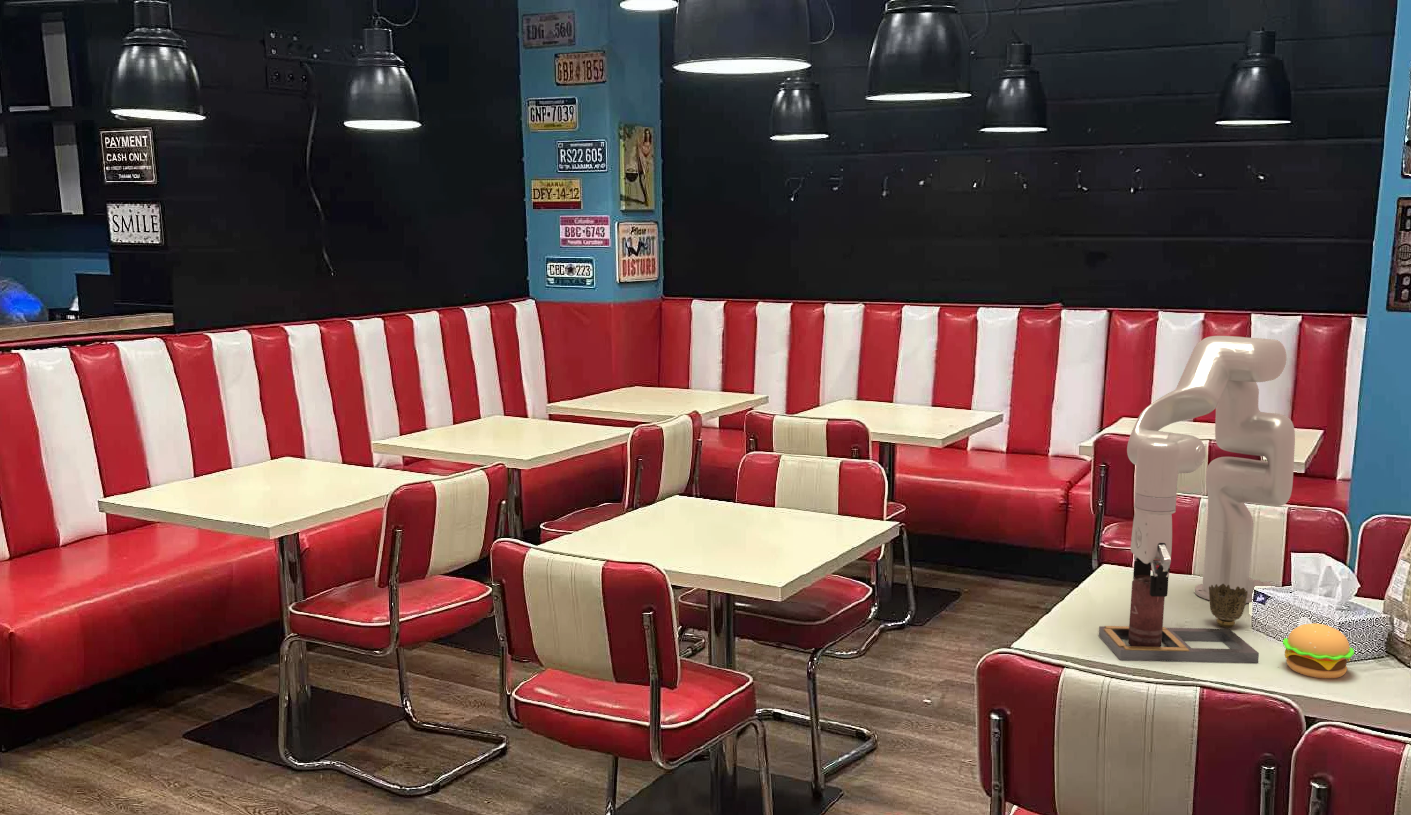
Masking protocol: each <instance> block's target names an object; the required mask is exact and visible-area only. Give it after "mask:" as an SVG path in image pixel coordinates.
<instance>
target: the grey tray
mask: <svg viewBox="0 0 1411 815" xmlns="http://www.w3.org/2000/svg"><path fill="white" fill-rule="evenodd" d="M1098 637H1099V638H1100V639H1101V641H1102V642H1103V643H1104V644H1105V645H1106V646H1107V647H1108V649H1110V651H1111V652H1112V653H1113V654H1114V655H1115V657H1117V659H1118V660H1119V661H1139V662H1182V663H1183V662H1186V663H1189V662H1190V663H1191V662H1193V663H1235V664H1236V663H1238V664H1239V663H1242V664H1259V654H1260V653H1259V652H1258V651H1257V650H1256V649H1254V647H1252V646H1251V645H1250V644H1249V643H1247V642H1246V641H1245V640H1243V639H1242V638H1241V637H1240V636H1239V635H1238V634H1236V633H1235V631H1232V629H1230V628H1207V627H1206V628H1203V627H1200V628H1199V627H1198V628H1197V627H1192V628H1191V627H1165V626H1163V628H1162V643H1164V644H1165V645H1166V646H1161V647H1137V646H1130V645H1129V646H1128V644H1126V642H1124V641H1125V640H1126V641H1128V637H1129V626H1128V625H1127V626H1126V625H1125V626H1124V625H1123V626H1122V625H1104V626H1103V625H1102V626H1101V625H1100V626H1099V627H1098ZM1123 640H1124V641H1123ZM1186 642H1223V644H1225V645H1226V646H1227V647H1228V648H1210V647H1209V648H1206V647H1205V648H1203V647H1201V648H1200V647H1191V646H1190V645H1188V643H1186Z"/></svg>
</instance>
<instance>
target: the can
mask: <svg viewBox="0 0 1411 815" xmlns="http://www.w3.org/2000/svg"><path fill="white" fill-rule="evenodd" d="M1151 575H1152V574H1151ZM1151 575H1138V576H1135V577H1134V580H1133V579H1132V581H1131V595H1130V607H1129V608H1130V609H1129V637H1128V640H1127V641H1128V642H1127V644H1128V645H1129V646H1137V647H1162V643H1163V641H1162V628H1163V627H1164V626H1163V625H1164V611H1165V597H1152V596H1151V595H1150V579H1151Z"/></svg>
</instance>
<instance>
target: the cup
mask: <svg viewBox="0 0 1411 815" xmlns="http://www.w3.org/2000/svg"><path fill="white" fill-rule="evenodd" d="M1247 594H1248V592H1247V591H1246V590H1245V589H1244V588H1241V589H1240V587H1238V586H1237V587H1236V590H1235V589H1231V588H1230V585H1227V587H1226V585H1225V584H1221V585H1220V586H1219V587H1218V586H1217V584H1216V585H1215V587H1213V585H1211V587H1210V586H1209V600H1208V601H1209V607H1210V608H1209V609H1210V612H1211V614H1212V615H1213V616H1214V617H1215V618H1216V621H1215V622H1216V624H1217V625H1218V626H1219V627H1221V628H1224V629H1230V628H1234V627H1235V625H1236V621H1237V620H1239V619H1240V618H1241V617H1242V615H1243V614H1244V611H1245V607H1246V604H1247V603H1246V599H1247Z"/></svg>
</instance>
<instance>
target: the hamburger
mask: <svg viewBox="0 0 1411 815" xmlns="http://www.w3.org/2000/svg"><path fill="white" fill-rule="evenodd" d="M1282 645H1283V646H1284V647H1285V650H1284V658H1285V659H1286V663H1287V665H1288V667H1289V668H1290V669H1291V670H1292V671H1294V672H1296V673H1298V674H1300V675H1303V676H1307V677H1311V678H1317V679H1329V680H1330V679H1338V678H1340V677H1343V676H1344V675H1345V674H1346V673H1347V671H1348V667H1347V664H1348V662H1350V661H1351V657H1352V656H1354V655H1355V650H1354V648H1353V647H1350V643H1349V641H1348V639H1347V637H1346V635H1344V634H1343V632H1341V631H1340V630H1339V629H1337V628H1334V627H1332V626H1330V625H1327V624H1322V623H1316V622H1315V623H1314V622H1313V623H1306V624H1301V625H1299V626H1297V627H1295V628H1293V629H1292V631H1291V632H1290V633H1289V634H1288V637H1284V639H1283V640H1282Z"/></svg>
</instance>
